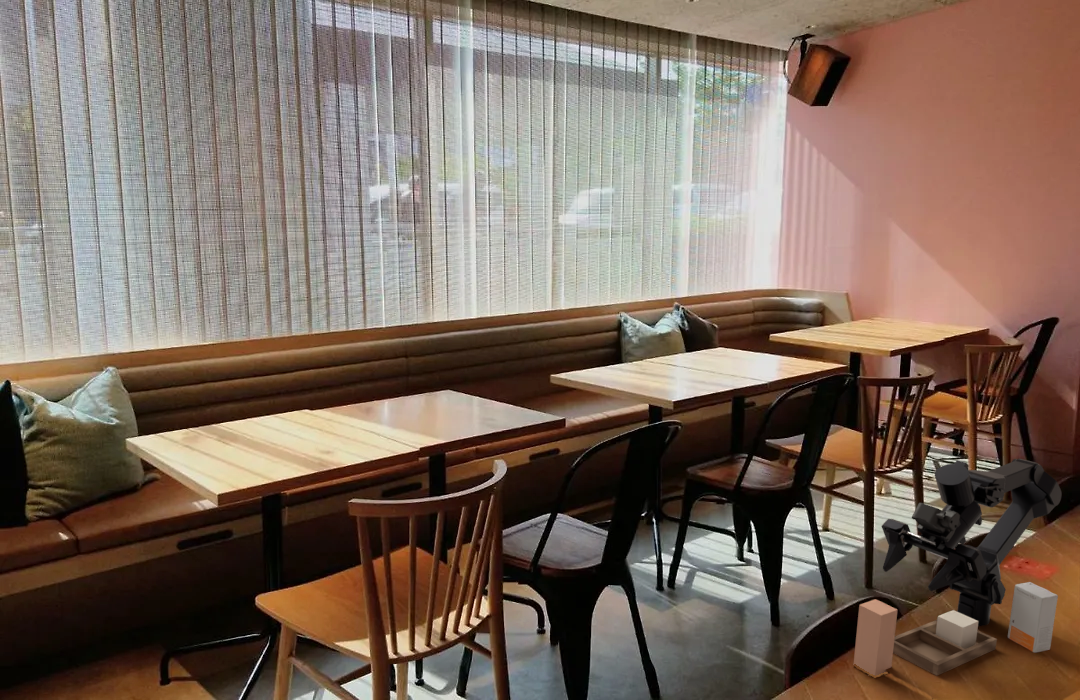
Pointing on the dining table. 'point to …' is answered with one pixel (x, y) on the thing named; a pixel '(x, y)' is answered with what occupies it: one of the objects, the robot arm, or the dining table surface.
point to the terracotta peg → (875, 636)
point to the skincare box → (1032, 617)
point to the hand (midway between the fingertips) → (906, 579)
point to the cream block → (957, 629)
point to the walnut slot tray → (938, 649)
